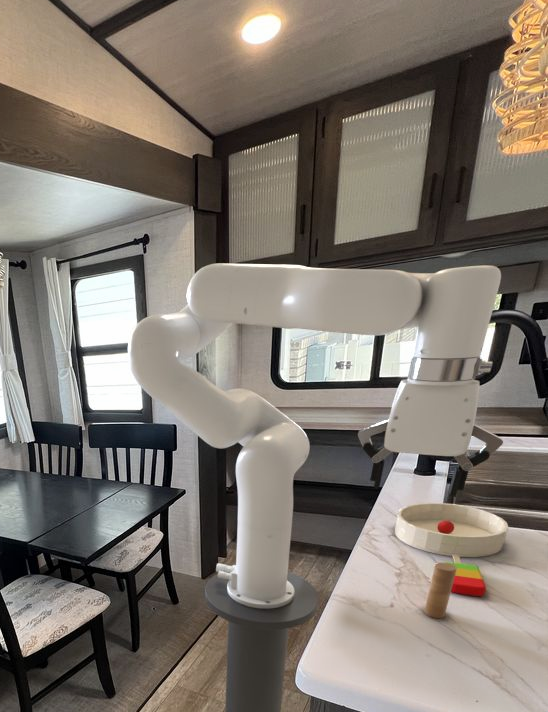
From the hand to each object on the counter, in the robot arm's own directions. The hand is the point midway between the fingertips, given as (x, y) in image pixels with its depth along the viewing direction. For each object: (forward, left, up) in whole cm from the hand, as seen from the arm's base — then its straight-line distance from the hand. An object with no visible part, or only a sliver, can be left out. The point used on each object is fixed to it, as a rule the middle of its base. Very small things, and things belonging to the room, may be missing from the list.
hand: (413, 489), depth 71 cm
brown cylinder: (+6, +3, -22) cm, 23 cm away
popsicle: (+10, +19, -22) cm, 31 cm away
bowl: (+8, +37, -22) cm, 44 cm away
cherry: (+8, +37, -20) cm, 43 cm away
